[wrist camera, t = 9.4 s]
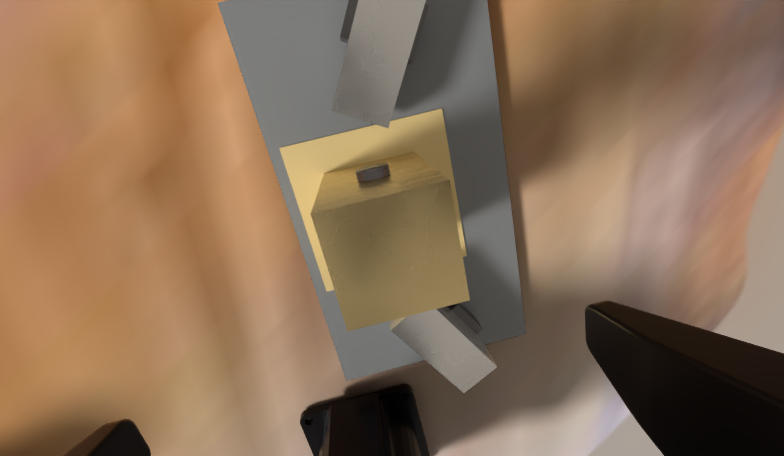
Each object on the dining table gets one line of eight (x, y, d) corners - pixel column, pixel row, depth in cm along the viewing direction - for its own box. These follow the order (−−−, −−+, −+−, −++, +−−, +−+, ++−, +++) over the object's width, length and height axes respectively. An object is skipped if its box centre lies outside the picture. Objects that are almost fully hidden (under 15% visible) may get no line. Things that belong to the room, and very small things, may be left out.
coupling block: (431, 240, 17) (471, 308, 12) (349, 261, 17) (350, 339, 12) (412, 144, 16) (447, 169, 10) (322, 166, 16) (307, 203, 10)
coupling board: (519, 325, 21) (526, 334, 20) (346, 370, 20) (346, 382, 20) (473, -51, 15) (481, -60, 14) (224, 7, 14) (216, 2, 13)
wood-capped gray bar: (480, 342, 20) (502, 383, 17) (402, 363, 20) (411, 407, 17) (415, -38, 14) (432, -73, 11) (302, -12, 14) (290, -41, 11)
